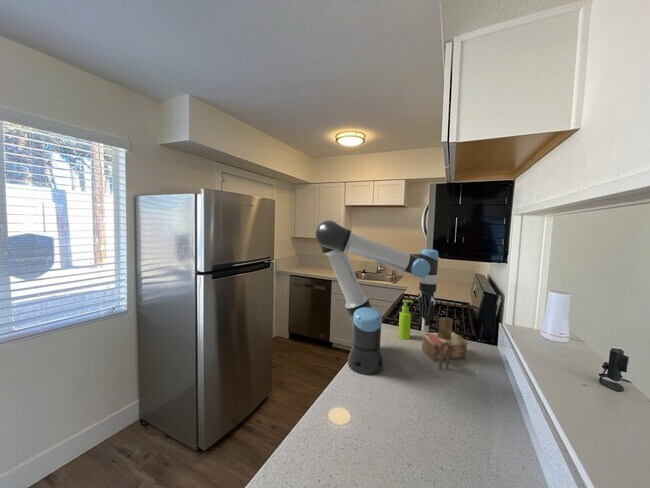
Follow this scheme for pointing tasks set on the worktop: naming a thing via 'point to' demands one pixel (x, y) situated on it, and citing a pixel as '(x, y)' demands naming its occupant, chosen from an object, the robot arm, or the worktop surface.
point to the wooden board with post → (446, 333)
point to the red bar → (437, 341)
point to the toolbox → (444, 352)
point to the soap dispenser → (404, 321)
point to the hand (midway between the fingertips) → (424, 331)
